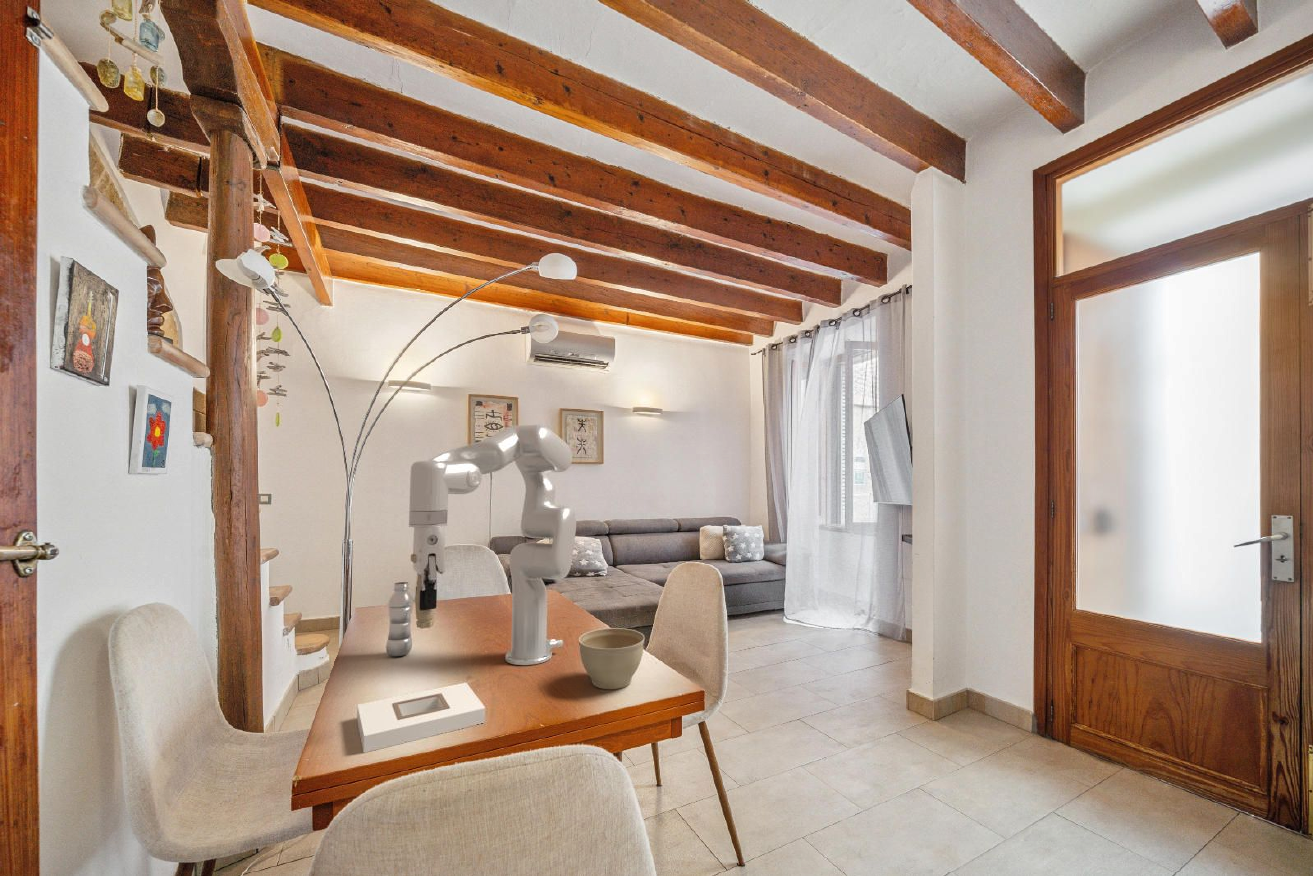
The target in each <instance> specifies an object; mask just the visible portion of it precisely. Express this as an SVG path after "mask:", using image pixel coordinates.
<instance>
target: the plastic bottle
mask: <svg viewBox="0 0 1313 876" xmlns="http://www.w3.org/2000/svg"><path fill="white" fill-rule="evenodd" d="M409 585H410V583H409V581H407V582H406V581H400V582H399V581H398V582H395V583H394V584H393V591H394V592H393V594H392V595H391V597H390V598H389V599H388V602H387V606H388V615H389V621H388V622H389V629H388V636H387V641H386V645H385V650H386V651H385V652H386V654H387V655H388V656H389V657H402V656H405V655H407V654H410V652H411V650H412V648H413V641H412V640H413V638H412V633H411V632H412V630H411V629H412V628H411V620H412V613H413V609H414V608H413V607H414V601H415V600H414V598H413V596H412V594H411V593H410V592H409V590H410V588H409V587H410V586H409Z"/></svg>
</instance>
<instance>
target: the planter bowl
mask: <svg viewBox="0 0 1313 876" xmlns="http://www.w3.org/2000/svg"><path fill="white" fill-rule="evenodd" d="M578 644H579V654H580V655H579V656H580V660H581V662H582V665H583V667H584V670H585V671H586V673H587V674H588V676H589V677H590V679H591V682H592V683H591V684H592V685H593V686H594V687H597V688H599V689H603V690H617V689H623V688H625V687H627V686H629V685H630V684H631V683H632V678H633V676H634V675H635V673H636V672H637V670H638V668H639V666H640V664H641V660H642V658H643V653H644V644H645V635H644V634H643V633H642V632H639V631H637V630H635V629H630V628H629V629H628V628H619V627H615V628H614V627H612V628H611V627H610V628H600V629H594V630H591V631H587V632H585V633H583V634H582V635H580V636H579V637H578Z"/></svg>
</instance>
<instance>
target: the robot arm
mask: <svg viewBox="0 0 1313 876" xmlns="http://www.w3.org/2000/svg"><path fill="white" fill-rule="evenodd" d="M572 453H573V452H572V450H571V448H570V446H569V445H568V443H567V442H566V441H564V440H563V439H562V438H561V437H560V436H559V435H557V434H556V433H555V432H554V431H553V430H551V429H550V428H548V427H546V426H544V425H541V424H527V425H526V424H525V425H524V424H523V425H511V426H508V427H506V428H503V429H502V430H500V431H499V432H497V433H494V434H493V435H491V436H489V437H487V438H485V439H482V440H481V441H478V442H473V443H470V444H467V445H464V446H460V447H457V448H454V449H451V450H450V449H449V450H447V451H445V452H443V453H439V454H438V455H436V456H434V457H432V458H430V459H428V460H417V461H414V462H413V463H412V465H411V467H410V478H409V479H410V482H409V483H410V484H409V512H408V514H409V515H408V527H409V528H414V529H413V543H412V544H413V545H412V546H413V547H412V554H414V555H415V556H416V563H413V562H412V566H413V570H414V571H415V572H416V583H415V584H416V586H415V592H416V591H417V580H418V574H420V575H421V577H422V590H420V604H419V609H420V610H429V609H435V608H437V599H438V598H437V595H438V593H437V592H438V589H437V588H438V587H437V586H438V585H437V583H438V582H437V577H438V576H437V573H439V574H441V575H442V574H444V573H445V572H446V553H445V552H446V549H445V547H446V546H445V545H446V544H445V543H446V541H445V530H444V529H445V528H444V527H446V526H448V514H449V513H448V510H449V508H448V507H449V494H450V495H467V494H470V493H473V492H475V491H476V490H477V489H478V488H479V486H480V484H481V482H482V478H483V477H482V475H487V474H490V473H491V474H492V473H496V472H498V471H500V470H502V469H504V468H505V467H507V466H508V465H510V464H511V463H513V462H514V463H515V465H516V467H517V469H518V471H519V473H521V476H522V478H523V481H524V485H525V494H524V499H523V500H524V501H523V505H522V506H523V507H522V513H521V521H520V531H521V533H522V534H523V536H525V537H527V538H532V539H544V540H552V543H544V542H543V543H542V542H522V543H520V544H517V545H515V546H514V547H513V548H512V549H511V551H510V553H509V559H508V562H509V563H508V565H509V570H510V576H511V584H512V586H511V587H512V588H511V589H512V592H511V594H512V595H511V596H512V597H511V599H512V600H511V601H512V602H511V604H512V605H511V645H510V646H511V647H510V648H511V650H509V651H508V652H506V654H505V657H504V658H505V660H504V661H506V662H507V663H509V664H511V665H514V666H531V665H538V664H542V663H545V662H547V661H549V660H550V659H551V658H552V656H553V651H552V650H553V649H554V648H561V647H563V646H564V641H563V639H555V638H551V639H548V638H547V632H548V631H547V629H548V628H547V626H548V624H547V619H548V592H547V587H546V584H545V582H544V580H562V579H565V578H566V577H567V576H568V575H569V573H570V571H571V568H572V563H573V561H572V560H573V555H574V548H575V539H576V532H577V517H576V514H575V512H574V510H573V509H572V508H571V507H570V506H566V505H563V504H562V505H561V504H559V505H555V498H556V488H555V484H554V482H553V480H552V479H551V477H550V475H549V474H548V473H564V472H565V471H567V470H569V468H570V467H571V465H572V462H573V454H572ZM424 569H425V571H424ZM427 571H428V572H429V574H427V575H424V573H425V572H427ZM427 577H428V578H427ZM425 578H427V579H426V580H425ZM543 579H544V580H543ZM414 601H415V604H416V599H415V600H414ZM435 610H436V609H435Z"/></svg>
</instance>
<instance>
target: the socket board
mask: <svg viewBox="0 0 1313 876" xmlns="http://www.w3.org/2000/svg"><path fill="white" fill-rule="evenodd" d="M356 709H357V710H356V711H357V712H356V713H357V714H356V722H357V726H358V727H357V728H358V731H359V736H360V737H359V738H360V743H361V747H362V751H363V754H366V753H368V752H373V751H377V750H381V749H385V748H389V747H393V746H397V745H402V744H406V743H411V742H414V741H417V740H422V739H425V737H426V738H429V737H434V736H438V735H437V734H439V735H441V733H443V734H446V733H445V732H447V733H451V732H454V731H458V729H459V730H462V728H463V729H467V728H471V727H475V726H478V725H477V724H479V725H482V724H481V723H483V724H486V707H485V705H484V704H483V703H482V701H481V700H480V699H479V697H478V696H477V695H476V693H475V692H474V691H473V689H472V688H471V687H470V686H469V684H468V683H467V682H463V683H458V684H452V685H449V686H443V687H438V688H437V687H436V688H433V689H429V690H428V689H427V690H424V691H423V690H422V691H418V692H414V693H409V694H403V695H399V696H398V695H397V696H393V697H390V698H389V697H388V698H384V699H379V700H374V701H370V702H369V701H368V702H363V703H358V704H357V708H356ZM433 735H434V736H433ZM421 738H422V739H421ZM405 742H406V743H405Z"/></svg>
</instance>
